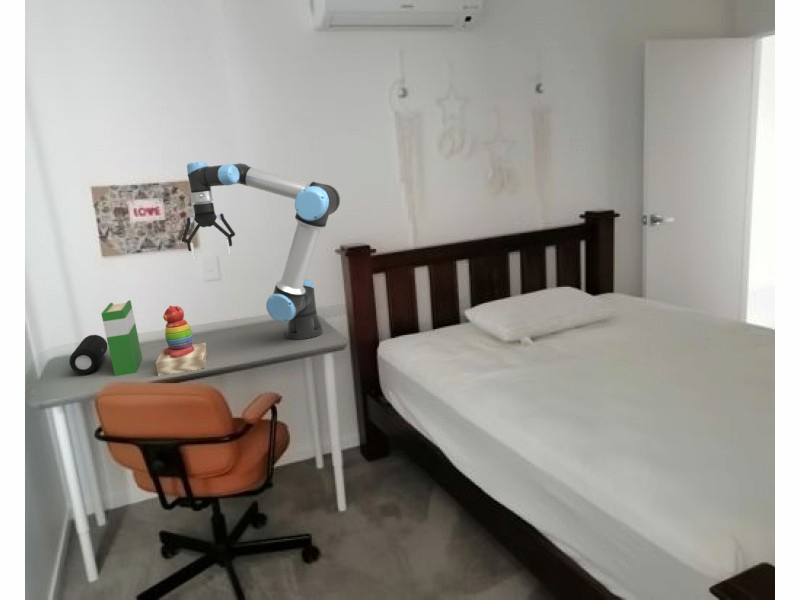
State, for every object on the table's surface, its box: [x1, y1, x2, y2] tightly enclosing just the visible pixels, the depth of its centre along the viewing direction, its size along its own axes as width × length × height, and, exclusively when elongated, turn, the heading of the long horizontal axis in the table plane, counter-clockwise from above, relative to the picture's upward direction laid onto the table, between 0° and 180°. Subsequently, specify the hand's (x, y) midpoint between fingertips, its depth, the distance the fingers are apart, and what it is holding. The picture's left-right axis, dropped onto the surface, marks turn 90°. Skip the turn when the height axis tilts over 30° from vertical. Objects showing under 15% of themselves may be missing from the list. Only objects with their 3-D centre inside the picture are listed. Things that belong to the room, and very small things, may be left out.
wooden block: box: [155, 342, 208, 377], centre depth 225 cm, size 16×17×5 cm
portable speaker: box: [68, 334, 109, 375], centre depth 235 cm, size 26×10×10 cm, turn 17°
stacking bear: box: [162, 305, 194, 358], centre depth 223 cm, size 11×10×18 cm
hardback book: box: [100, 300, 143, 377], centre depth 227 cm, size 18×7×24 cm, turn 16°
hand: (212, 256), depth 238 cm, fingers open, 13 cm apart
